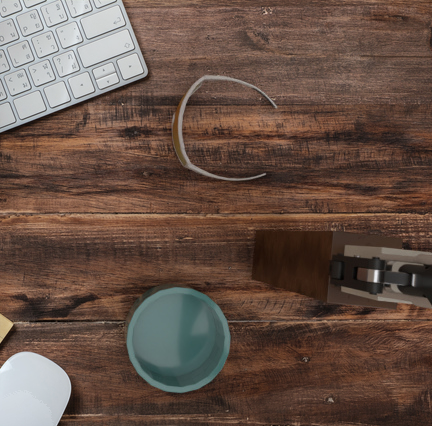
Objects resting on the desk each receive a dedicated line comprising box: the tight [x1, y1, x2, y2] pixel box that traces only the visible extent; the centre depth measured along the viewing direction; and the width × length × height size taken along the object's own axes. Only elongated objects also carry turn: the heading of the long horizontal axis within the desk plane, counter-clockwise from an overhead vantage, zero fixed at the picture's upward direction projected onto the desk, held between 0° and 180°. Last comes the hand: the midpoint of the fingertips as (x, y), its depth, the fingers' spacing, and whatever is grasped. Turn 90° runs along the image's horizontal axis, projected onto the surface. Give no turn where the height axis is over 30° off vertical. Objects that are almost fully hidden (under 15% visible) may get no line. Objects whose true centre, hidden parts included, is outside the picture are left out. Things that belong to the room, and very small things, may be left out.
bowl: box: [123, 282, 232, 394], centre depth 65 cm, size 14×14×5 cm
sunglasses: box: [171, 74, 278, 182], centre depth 67 cm, size 14×15×5 cm
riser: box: [251, 229, 404, 311], centre depth 58 cm, size 7×7×22 cm
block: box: [341, 245, 432, 305], centre depth 44 cm, size 4×4×6 cm
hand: (377, 272), depth 45 cm, fingers open, 7 cm apart
